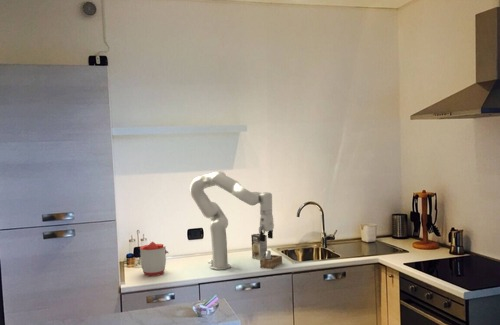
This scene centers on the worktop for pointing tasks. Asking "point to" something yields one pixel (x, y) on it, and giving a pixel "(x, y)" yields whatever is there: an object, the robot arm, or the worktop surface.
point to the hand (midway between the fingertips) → (266, 239)
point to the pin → (268, 255)
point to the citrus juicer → (153, 259)
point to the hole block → (271, 262)
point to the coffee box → (258, 247)
